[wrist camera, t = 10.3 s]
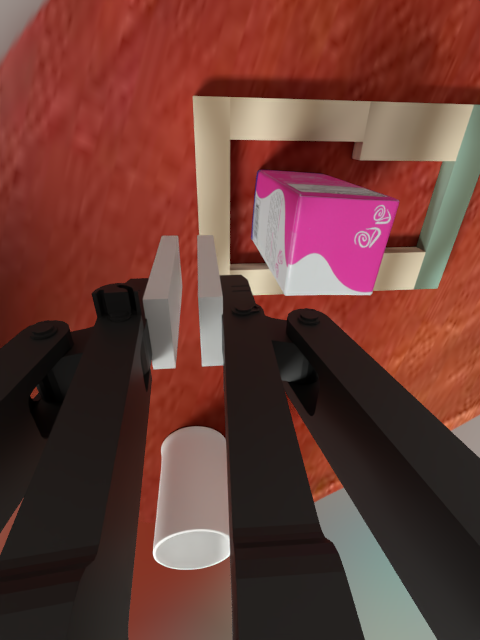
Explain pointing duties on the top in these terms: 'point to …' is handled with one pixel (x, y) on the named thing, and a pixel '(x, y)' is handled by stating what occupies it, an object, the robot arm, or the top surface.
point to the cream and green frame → (370, 144)
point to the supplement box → (320, 232)
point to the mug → (192, 500)
